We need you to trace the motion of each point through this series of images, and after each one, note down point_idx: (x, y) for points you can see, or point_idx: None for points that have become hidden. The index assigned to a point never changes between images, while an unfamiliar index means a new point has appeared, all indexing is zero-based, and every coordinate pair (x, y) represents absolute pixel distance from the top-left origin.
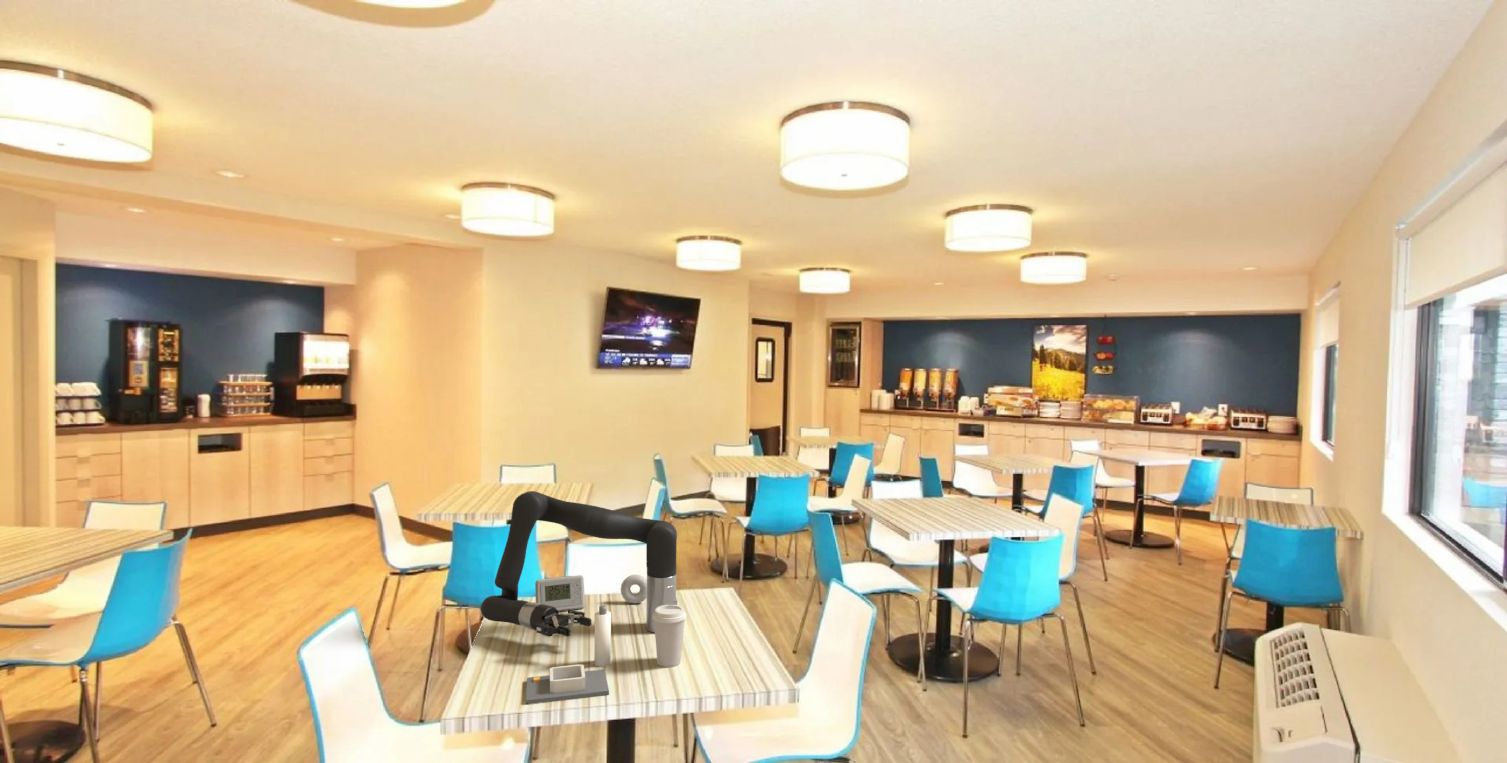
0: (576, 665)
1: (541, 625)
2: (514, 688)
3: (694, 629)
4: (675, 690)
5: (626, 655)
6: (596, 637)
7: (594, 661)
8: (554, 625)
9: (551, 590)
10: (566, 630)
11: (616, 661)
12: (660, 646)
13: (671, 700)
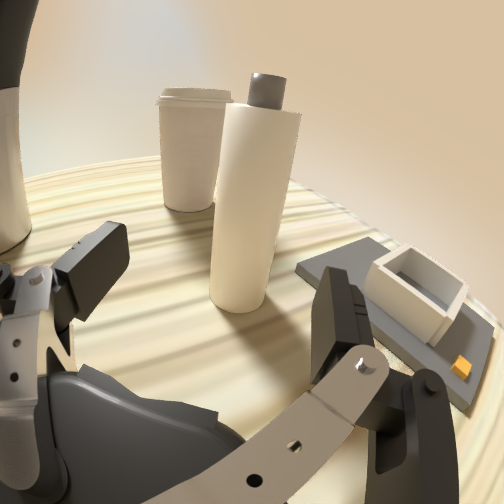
0: (390, 273)
1: (453, 497)
2: (491, 404)
3: (33, 201)
4: (289, 192)
5: (162, 258)
6: (282, 209)
7: (256, 302)
8: (379, 388)
9: None
10: (350, 286)
11: (210, 268)
12: (217, 165)
13: (317, 194)
